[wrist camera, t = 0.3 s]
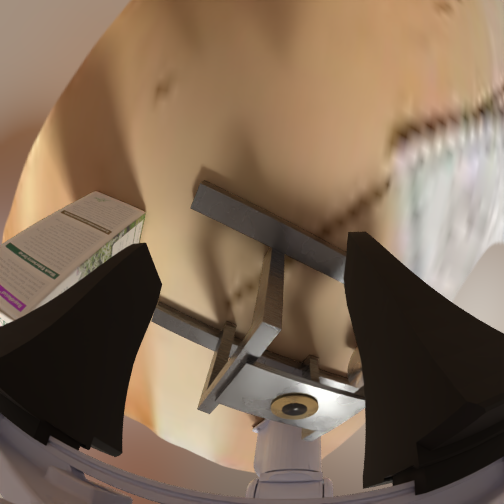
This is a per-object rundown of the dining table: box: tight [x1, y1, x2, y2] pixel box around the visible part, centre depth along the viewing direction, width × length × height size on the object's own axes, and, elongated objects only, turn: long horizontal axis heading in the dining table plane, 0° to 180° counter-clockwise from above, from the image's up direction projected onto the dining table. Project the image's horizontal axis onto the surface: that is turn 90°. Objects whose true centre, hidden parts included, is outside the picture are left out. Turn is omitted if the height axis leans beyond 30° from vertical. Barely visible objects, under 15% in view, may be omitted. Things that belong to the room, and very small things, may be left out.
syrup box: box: [0, 191, 146, 326], centre depth 15 cm, size 6×6×14 cm
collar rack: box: [152, 180, 365, 441], centre depth 19 cm, size 14×24×10 cm, turn 65°
